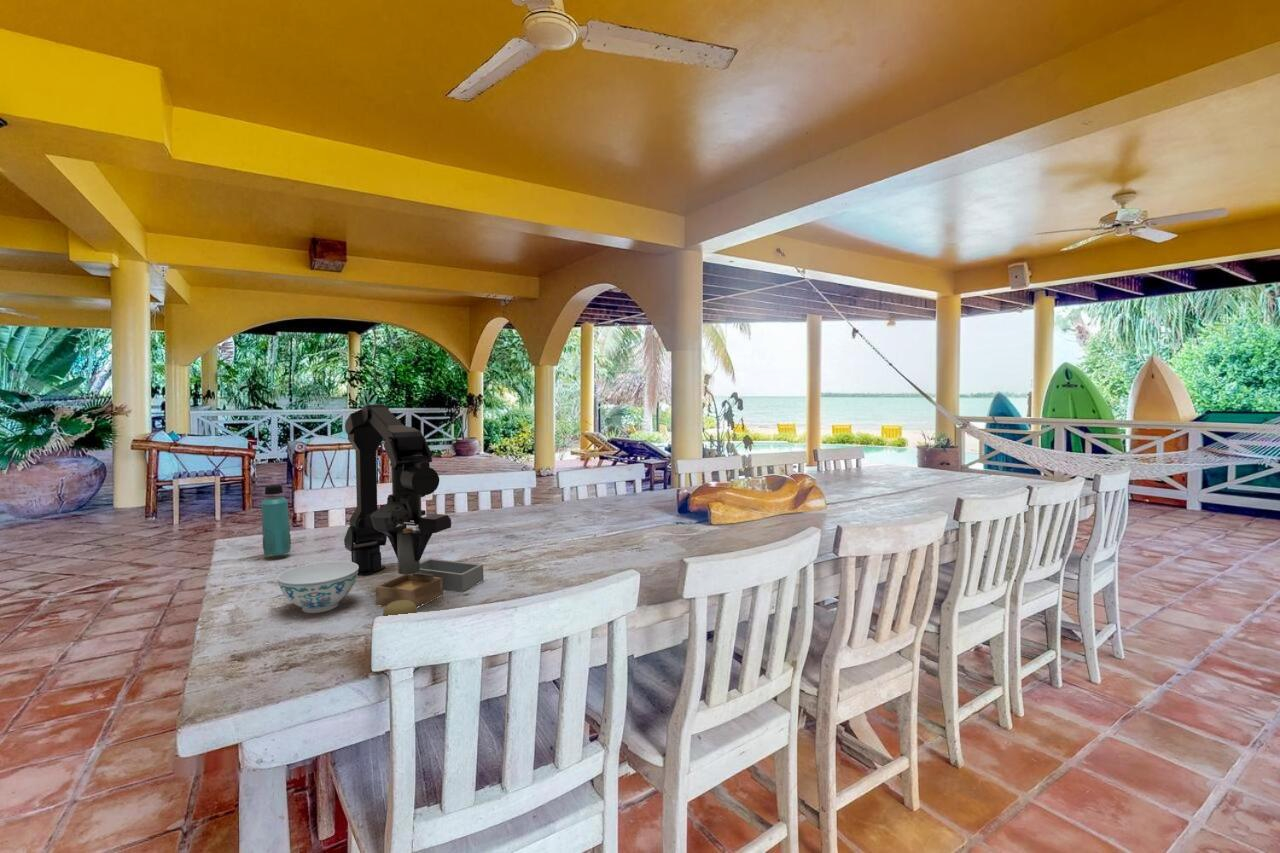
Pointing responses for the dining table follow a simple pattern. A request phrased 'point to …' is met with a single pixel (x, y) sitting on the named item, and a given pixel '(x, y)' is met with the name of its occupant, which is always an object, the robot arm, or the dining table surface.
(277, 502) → the beverage bottle
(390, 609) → the cork
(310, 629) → the dining table surface
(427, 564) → the trough
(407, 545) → the battery cell
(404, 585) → the plate
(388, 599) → the frame
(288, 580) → the chinaware
